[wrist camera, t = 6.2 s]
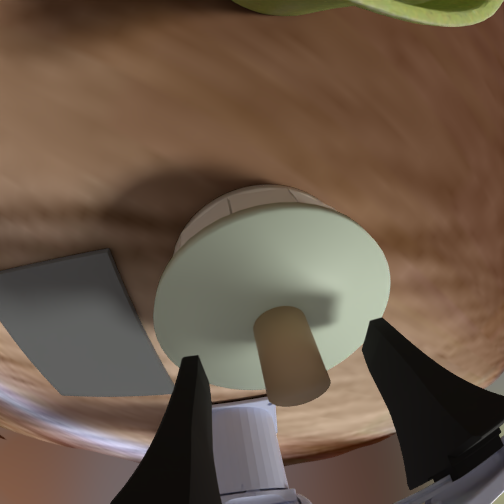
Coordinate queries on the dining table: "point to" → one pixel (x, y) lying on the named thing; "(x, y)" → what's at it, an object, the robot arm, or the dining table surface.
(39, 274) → the mat
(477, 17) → the plant pot
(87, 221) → the dining table surface
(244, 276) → the lid
